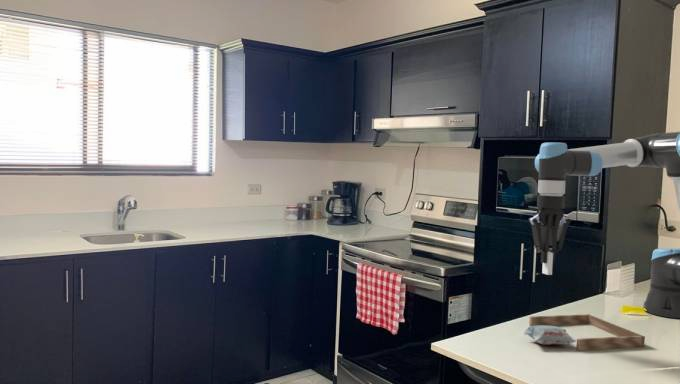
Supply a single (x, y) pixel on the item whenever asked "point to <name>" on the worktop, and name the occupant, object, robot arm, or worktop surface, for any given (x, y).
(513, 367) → the worktop surface
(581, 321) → the wooden frame
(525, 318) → the worktop surface
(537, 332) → the packaged food
